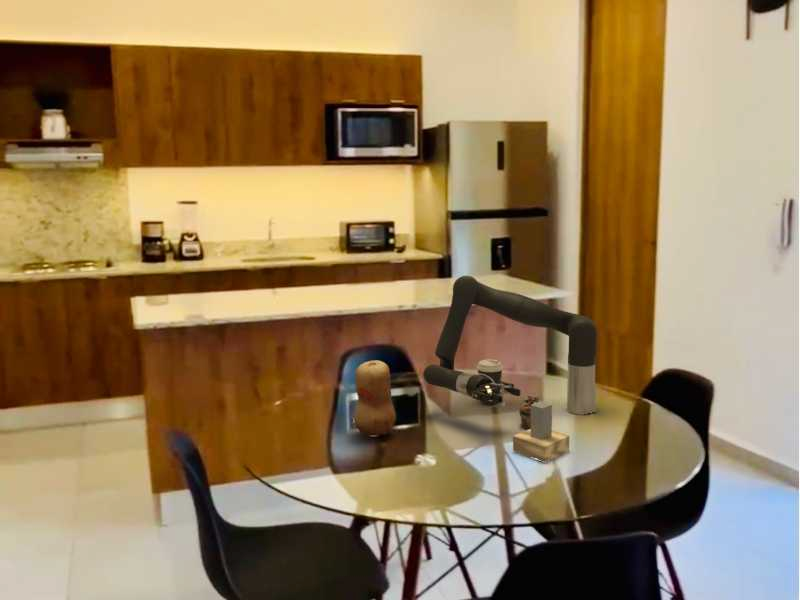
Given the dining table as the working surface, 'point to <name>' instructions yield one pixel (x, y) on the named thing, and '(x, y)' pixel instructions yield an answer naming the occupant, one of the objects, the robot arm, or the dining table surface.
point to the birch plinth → (541, 445)
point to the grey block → (541, 420)
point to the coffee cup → (490, 373)
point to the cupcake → (527, 412)
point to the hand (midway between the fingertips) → (511, 396)
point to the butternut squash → (374, 399)
